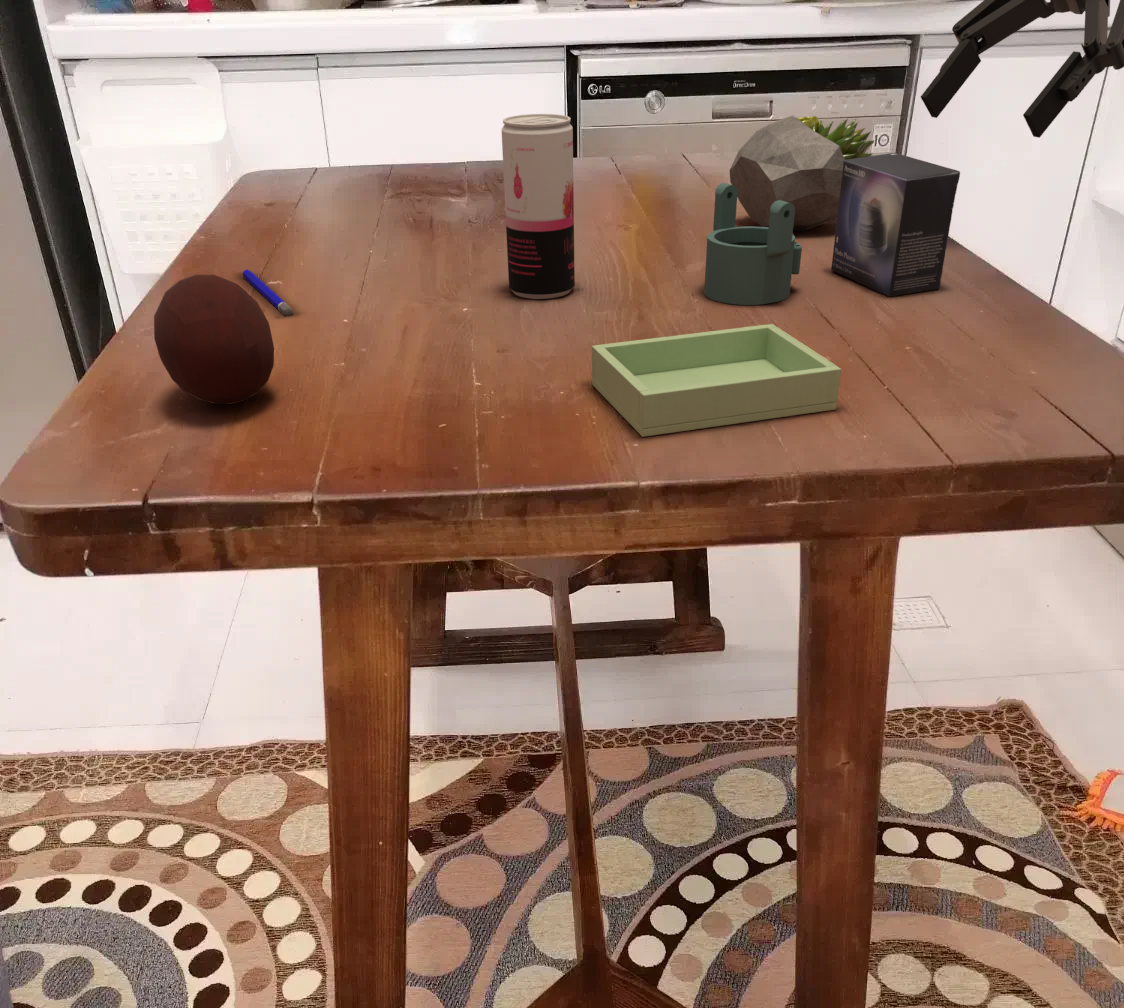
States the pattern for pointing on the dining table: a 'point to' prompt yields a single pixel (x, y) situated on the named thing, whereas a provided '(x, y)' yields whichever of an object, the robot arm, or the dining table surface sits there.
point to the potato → (214, 339)
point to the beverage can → (539, 204)
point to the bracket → (750, 254)
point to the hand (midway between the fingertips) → (977, 116)
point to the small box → (894, 222)
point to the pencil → (268, 293)
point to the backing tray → (713, 379)
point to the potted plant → (796, 168)
